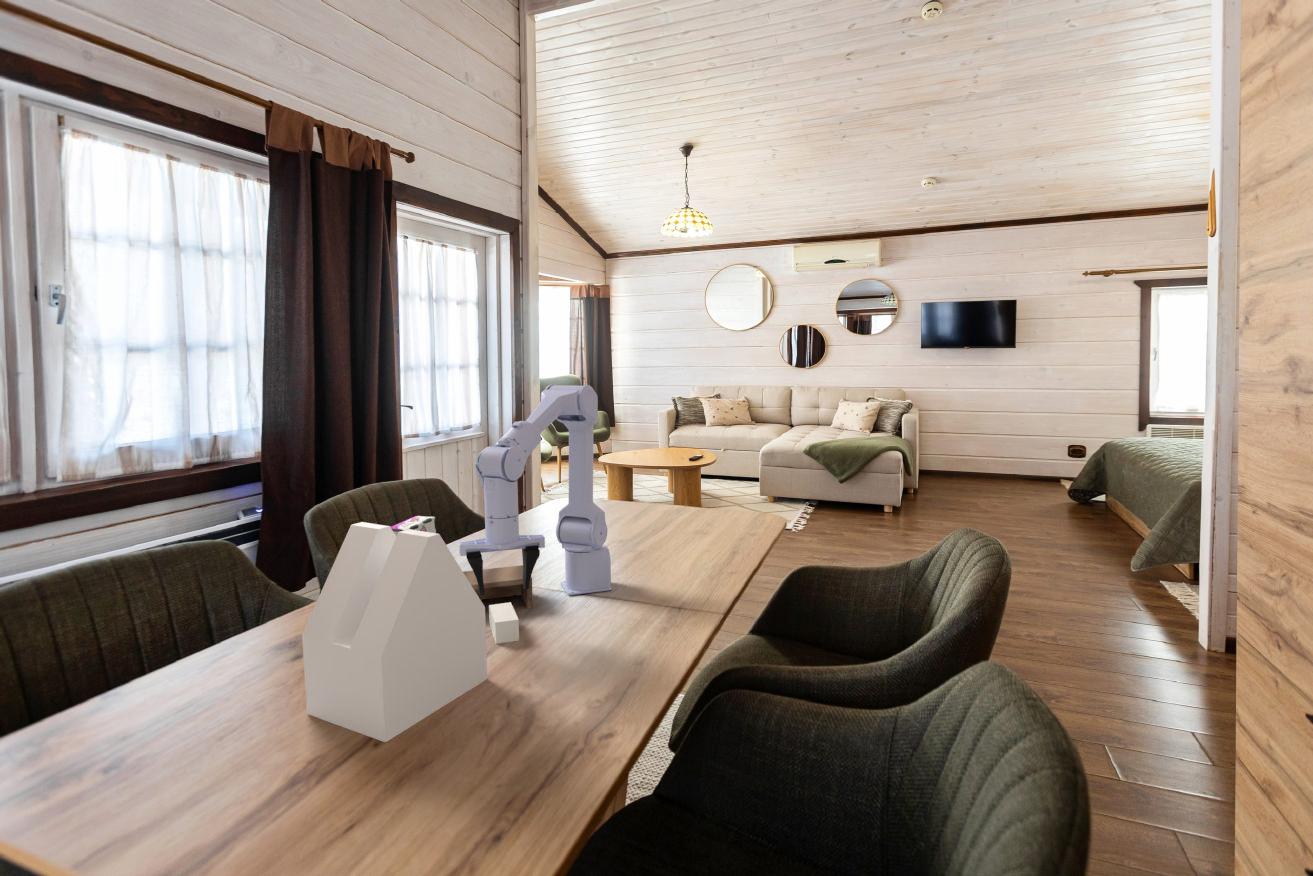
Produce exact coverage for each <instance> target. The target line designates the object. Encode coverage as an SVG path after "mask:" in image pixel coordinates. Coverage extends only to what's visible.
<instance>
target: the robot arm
mask: <svg viewBox="0 0 1313 876" xmlns="http://www.w3.org/2000/svg"><path fill="white" fill-rule="evenodd" d="M598 402H599V400H598V394H597V392H596V391H595V389H594V388H593V387H592V386H591V384H585V385H572V384H571V385H565V384H564V385H563V384H562V385H561V384H560V385H559V384H558V385H557V384H556V385H555V384H548V385H547V386H546V387H545V388H544V390H542V391H541V394H540V402H539V403H538V405H537V406H536V407H535V409H534V410H533V411H532V413H531V414H530V415H529V416H528V417H527V419H526V420H519V421H514V422H513V423H512V424H511V427H510V428H509V429H508V431H507V432H505V434H504V435H502V437H500V438H499V439H498V441H497V442H496V443H495V444H494V445H492V446H491V445H490V446H487V447H484V449H483V450H481V451H480V452H479V453H478V456H477V459H476V463H475V464H474V466H475V467H474V468H475V472H476V474H477V476H478V478H479V479H480V487H481V489H483V499H484V502H483V503H484V524H485V525H484V527H485V528H484V529H485V532H484V533H485V537H483V538H479V539H474V540H473V539H472V540H467V541H460V542H458V549H459V553H458V554H459V556H460V557H465V556H466V560H467V562H468V563H469V566H470V567H471V571H473V572H474V574H475V576H476V579H477V582H478V587H479V593H480V595H484V583H483V569H484V560H483V555H482V554H483V553H492V552H501V551H502V552H503V551H512V550H513V551H514V550H521V555H522V565H523V587H524V589H525V590H527V589H529V583H530V578H531V577H532V575H533V572H534V571H533V570H534V568H535V565H536V564H537V561H538V559H539V558H540V554H541V551H540V549H544V548H546V537H545V536H544V535H543V534H519V533H520V529H519V522H520V520H519V495H518V494H519V493H518V492H519V487H518V480H519V478H521V477H522V476H523V473H524V471H525V465H526V464H527V461H528V457H530V455H531V454H532V453H533V452H534V450H535V449H537V448H538V446H539V445H540V443H541V441H542V437H541V436H542V435H541V433H543V432H544V431H545V430H546V429H547V428H548V427H549V426H550V425H551V424H552V423H554V421H555V420H556V421H558V422H559V423H562V424H563V425H564V426H565V427H566V429H567V430H568V503H567V504H566V505H565V506H564V507H562V508H561V509H560V510H559V511H558V519H557V523H556V527H555V536H556V539H557V541H558V543H559V544H561V549H564V555H565V556H564V557H565V558H564V559H565V561H564V563H565V564H564V566H565V581H560V585H561V587H562V588H563V589H564V591H565V593H566V594H567V595H568V596H575V595H582V594H592V593H599V592H607V591H611V590H613V589H612V577H611V575H612V573H611V572H612V563H611V553H610V550H609V547H608V546H607V545H605V542H606V540H607V539H608V538H607V537H608V525H607V522H606V516H605V515H606V513H605V511H604V510H603V509H601V507H599V506H598V505H597V504H596V503H595V502H594V425H596V424H597V423H598V415H599V414H598V411H599V409H598V408H599V407H598V406H599V405H598V404H599V403H598Z"/></svg>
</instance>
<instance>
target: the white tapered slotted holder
mask: <svg viewBox="0 0 1313 876" xmlns="http://www.w3.org/2000/svg"><path fill="white" fill-rule="evenodd" d="M391 527H392V526H390V525H384V524H377V523H372V522H371V523H370V522H365V521H360V522H357V523H353V524H351V525H350V527H349V529H348V531H347V533H346V534H345V535H346V536H345V537H344V540H343V541H342V544H341V547H340V549H339V551H338V553H337V555H336V558H335V559H334V563H333V565H332V567H331V568H330V571H329V574H328V575H327V578H326V580H325V582H324V585H323V587H322V589H321V592H320V594H319V595H318V598H317V600H316V602H315V605H314V607H313V609H312V611H311V613H310V616H309V618H308V621H307V623H306V625H305V628H304V629H303V632H302V633H301V639H302V640H301V641H302V643H301V644H302V657H303V670H304V671H303V672H304V687H305V701H306V702H305V704H306V714H307V715H309V716H312V717H315V718H317V719H319V720H323V721H325V722H329V723H330V724H333V725H335V726H339V727H341V728H345V729H346V730H350V731H352V732H356V733H359V734H361V735H364V736H367V737H369V738H372V739H376V740H378V741H381V742H384V743H386V742H388V741H390V740H391V739H393V738H394V737H396V736H398V735H400V734H402V733H403V732H404V731H406V730H407V729H409V728H411V727H412V726H414V725H416V724H417V723H419V722H420V721H422V720H424V719H426V718H427V717H428V716H430V715H432V714H433V713H435V712H437V711H438V710H440V709H441V708H443V707H445V706H447V705H448V704H449V703H451V702H452V701H454V700H456V699H457V698H459V697H460V696H462V695H464V694H466V693H467V692H469V691H470V690H472V689H473V688H475V687H477V686H478V685H480V684H482V683H484V682H485V681H486V680H488V661H487V628H486V626H487V625H486V607H485V604H484V603H483V602H482V600H480V599H479V597H478V595H477V594H476V592H475V591H474V589H473V587H472V586H471V584H470V582H469V581H468V579H467V578H466V576H465V574H464V573H463V572H464V571H463V569H462V567H460V565H459V563H458V561H457V559H455V557H454V555H453V554H452V552H451V550H450V548H448V545H447V544H446V542H445V541H444V540H443V538H442V536H441V534H440V533H437V532H436V533H430V532H424V531H417V530H411V529H408V530H405V531H401V532H398V534H397V536H396V535H395V533H394V532H393V530H392V529H391Z"/></svg>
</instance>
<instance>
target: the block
mask: <svg viewBox="0 0 1313 876" xmlns="http://www.w3.org/2000/svg"><path fill="white" fill-rule="evenodd" d="M488 613H489V614H488V617H489V628H490V629H491V630H492V631H491V634H492V636H493V639H494V642H495V644H496V645H498V644H503V643H509V642H510V643H512V642H516V641H517V642H518V641H520V628H519V627H520V625H519V624H520V623H519V621H520V620H519V617H518V614H517V612H516V610H515V608H514V605H512V602H510V601H509V602H504V603H503V602H502V603H495V604H488Z"/></svg>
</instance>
